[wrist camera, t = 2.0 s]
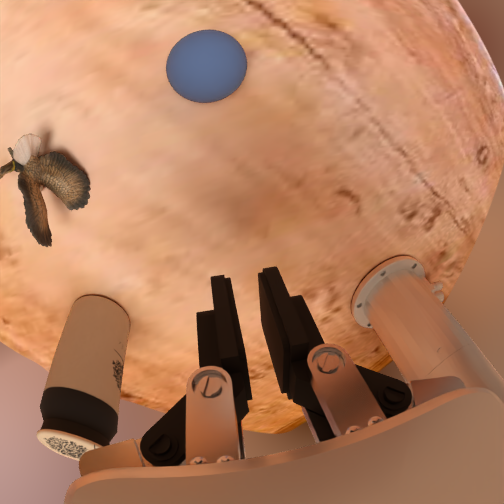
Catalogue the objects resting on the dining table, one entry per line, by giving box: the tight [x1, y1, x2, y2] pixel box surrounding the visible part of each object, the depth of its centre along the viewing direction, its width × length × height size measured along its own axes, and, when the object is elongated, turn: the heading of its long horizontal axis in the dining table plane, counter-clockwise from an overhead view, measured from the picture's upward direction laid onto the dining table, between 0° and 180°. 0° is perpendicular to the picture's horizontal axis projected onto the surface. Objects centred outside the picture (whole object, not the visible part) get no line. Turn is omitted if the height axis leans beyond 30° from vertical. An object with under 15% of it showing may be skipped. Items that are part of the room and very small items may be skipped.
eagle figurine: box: [0, 134, 90, 247], centre depth 20 cm, size 8×7×9 cm
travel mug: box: [37, 296, 130, 461], centre depth 25 cm, size 8×8×18 cm
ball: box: [166, 30, 247, 103], centre depth 18 cm, size 6×6×6 cm
